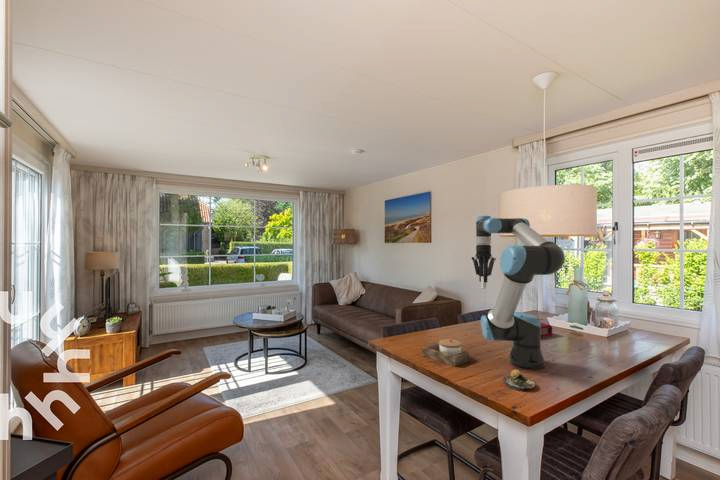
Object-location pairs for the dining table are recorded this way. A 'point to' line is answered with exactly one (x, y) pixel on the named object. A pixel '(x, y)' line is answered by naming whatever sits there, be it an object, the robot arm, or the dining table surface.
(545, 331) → the book
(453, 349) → the lidded jar
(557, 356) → the dining table surface
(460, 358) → the u-shaped bracket
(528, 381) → the plate of food
